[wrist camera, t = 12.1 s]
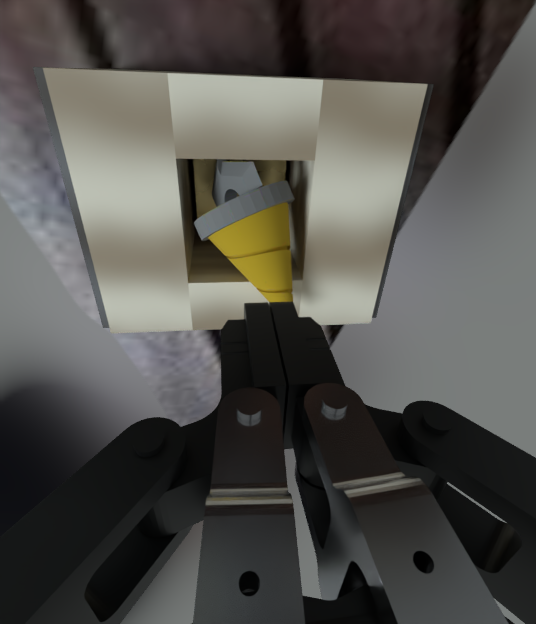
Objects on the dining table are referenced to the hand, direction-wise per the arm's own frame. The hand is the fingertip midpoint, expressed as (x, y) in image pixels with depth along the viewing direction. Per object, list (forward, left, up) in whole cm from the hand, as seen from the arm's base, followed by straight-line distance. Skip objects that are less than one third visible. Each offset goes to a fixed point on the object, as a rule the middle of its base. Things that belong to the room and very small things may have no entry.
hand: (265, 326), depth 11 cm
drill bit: (-1, +1, -12) cm, 12 cm away
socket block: (0, 0, -20) cm, 20 cm away
